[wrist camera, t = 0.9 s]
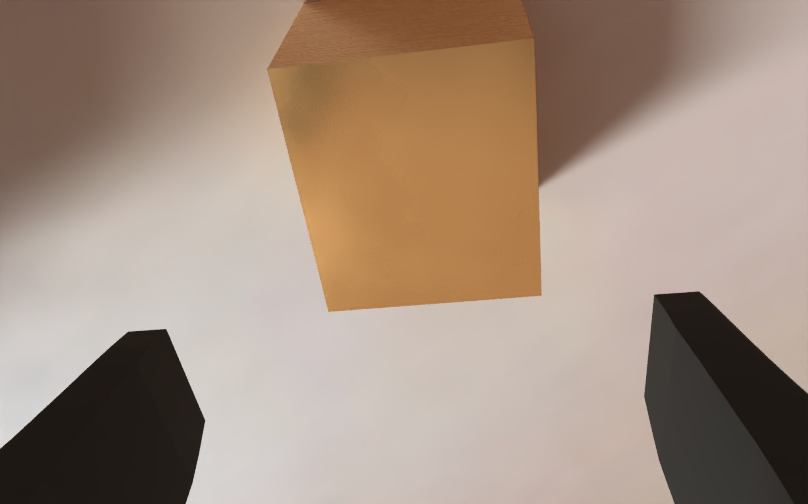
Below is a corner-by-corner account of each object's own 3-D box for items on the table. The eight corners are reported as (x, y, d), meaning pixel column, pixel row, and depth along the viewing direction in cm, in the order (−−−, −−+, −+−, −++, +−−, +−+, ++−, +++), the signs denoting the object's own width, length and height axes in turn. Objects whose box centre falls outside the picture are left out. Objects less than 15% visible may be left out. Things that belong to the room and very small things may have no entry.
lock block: (522, 195, 20) (541, 295, 16) (348, 211, 20) (328, 311, 17) (513, -25, 16) (534, 38, 13) (305, 1, 17) (267, 69, 13)
